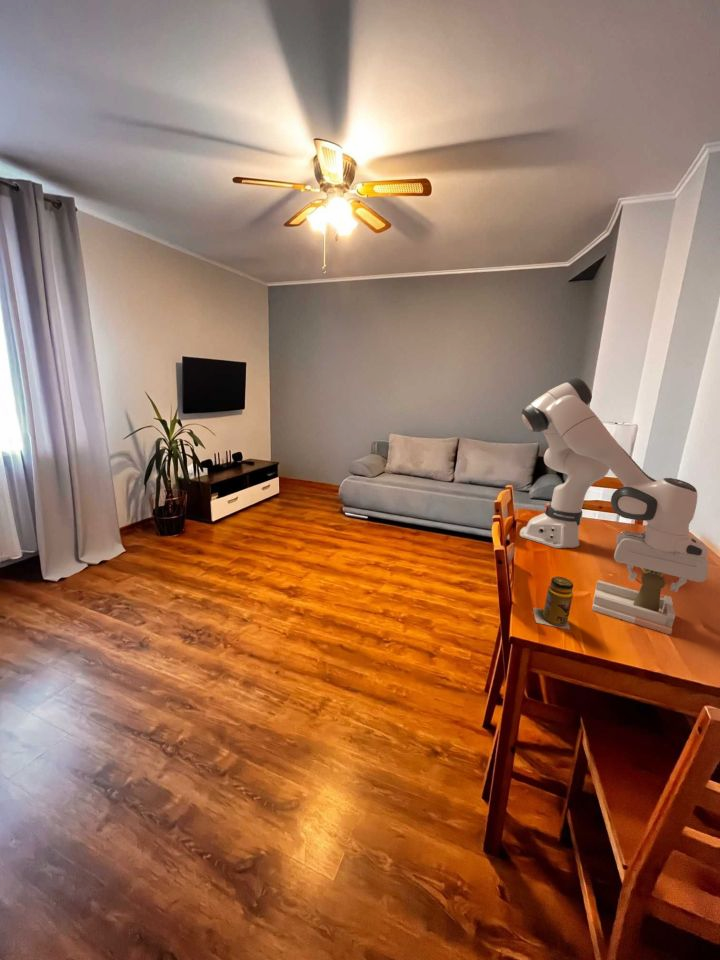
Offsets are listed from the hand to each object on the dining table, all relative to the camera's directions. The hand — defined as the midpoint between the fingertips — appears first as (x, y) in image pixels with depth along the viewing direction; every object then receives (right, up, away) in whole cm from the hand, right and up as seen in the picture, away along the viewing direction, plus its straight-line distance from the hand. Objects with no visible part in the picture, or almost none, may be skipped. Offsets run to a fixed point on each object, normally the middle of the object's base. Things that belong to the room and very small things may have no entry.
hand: (652, 584), depth 106 cm
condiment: (-29, -9, -1) cm, 30 cm away
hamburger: (+19, -4, +26) cm, 33 cm away
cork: (0, -8, +2) cm, 8 cm away
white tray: (-3, -9, +4) cm, 10 cm away
